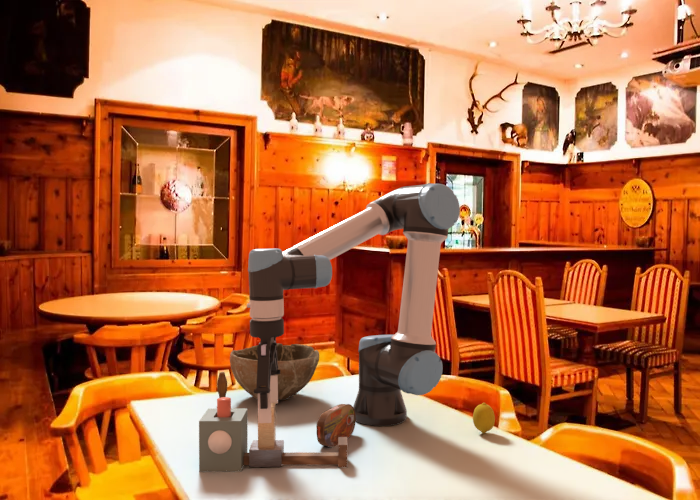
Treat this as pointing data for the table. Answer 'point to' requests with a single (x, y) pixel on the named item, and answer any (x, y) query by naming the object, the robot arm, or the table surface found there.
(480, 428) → the lemon
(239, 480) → the table surface
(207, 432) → the grey hole block
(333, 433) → the tin
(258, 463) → the block
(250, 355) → the bowl
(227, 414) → the red rounded peg
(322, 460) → the rail
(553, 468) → the table surface
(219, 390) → the hand bell
